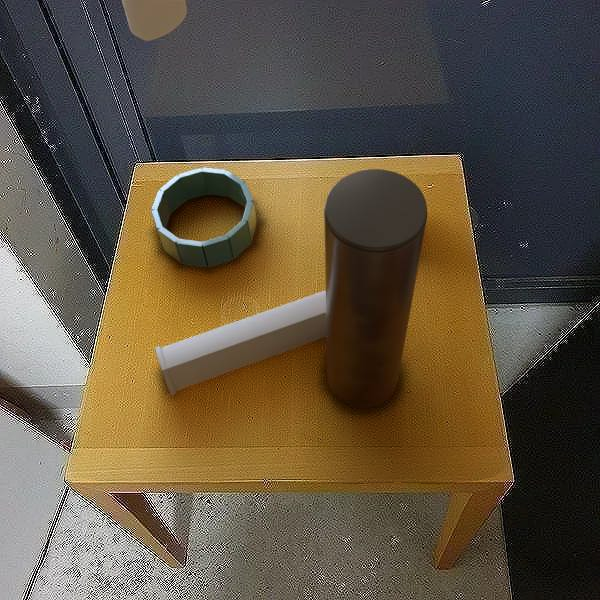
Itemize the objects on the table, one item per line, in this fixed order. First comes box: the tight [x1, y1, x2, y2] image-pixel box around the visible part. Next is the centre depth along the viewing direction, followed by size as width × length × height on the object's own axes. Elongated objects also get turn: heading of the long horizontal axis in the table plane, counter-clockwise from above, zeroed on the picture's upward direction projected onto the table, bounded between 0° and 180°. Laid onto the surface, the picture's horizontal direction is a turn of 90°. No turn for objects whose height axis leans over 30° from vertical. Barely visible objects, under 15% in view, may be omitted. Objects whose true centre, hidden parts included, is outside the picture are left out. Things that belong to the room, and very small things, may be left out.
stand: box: [323, 168, 428, 409], centre depth 66 cm, size 8×8×30 cm
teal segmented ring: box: [150, 166, 258, 268], centre depth 89 cm, size 13×13×4 cm
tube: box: [154, 289, 327, 396], centre depth 79 cm, size 5×5×25 cm
